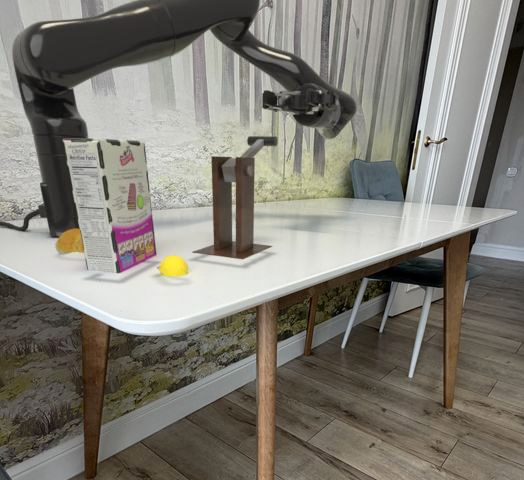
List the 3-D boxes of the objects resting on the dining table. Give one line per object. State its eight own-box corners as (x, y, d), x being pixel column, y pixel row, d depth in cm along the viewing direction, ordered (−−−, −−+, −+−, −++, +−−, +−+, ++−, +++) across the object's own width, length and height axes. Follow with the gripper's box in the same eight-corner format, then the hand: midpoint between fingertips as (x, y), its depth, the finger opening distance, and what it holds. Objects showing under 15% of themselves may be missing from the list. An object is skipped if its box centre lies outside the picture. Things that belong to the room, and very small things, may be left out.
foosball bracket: (226, 247, 71) (225, 156, 65) (272, 253, 68) (275, 158, 61) (192, 259, 62) (186, 155, 56) (242, 267, 59) (243, 157, 52)
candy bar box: (128, 260, 61) (113, 140, 54) (158, 262, 60) (147, 141, 53) (85, 279, 51) (59, 136, 44) (120, 282, 50) (100, 136, 43)
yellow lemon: (178, 286, 49) (164, 260, 47) (155, 289, 53) (141, 265, 52) (197, 274, 51) (184, 248, 49) (173, 277, 55) (161, 254, 54)
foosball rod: (251, 146, 68) (249, 131, 66) (278, 147, 66) (276, 131, 64) (216, 181, 60) (213, 165, 58) (245, 183, 58) (242, 166, 57)
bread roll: (104, 261, 60) (100, 234, 58) (49, 258, 60) (43, 231, 59) (128, 250, 67) (125, 226, 65) (78, 247, 68) (74, 223, 66)
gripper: (284, 87, 85) (251, 73, 71) (349, 85, 80) (327, 69, 66) (282, 127, 88) (250, 120, 75) (345, 127, 83) (322, 120, 69)
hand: (286, 96), depth 70 cm, fingers open, 8 cm apart
